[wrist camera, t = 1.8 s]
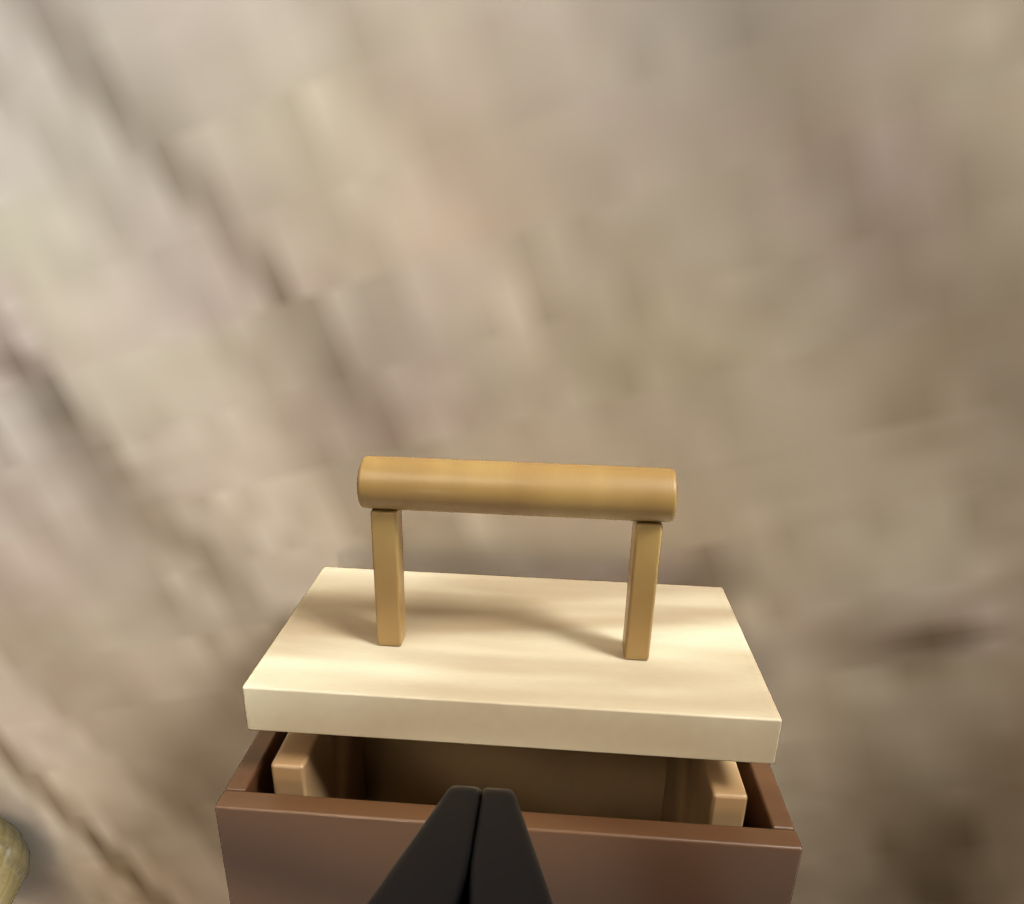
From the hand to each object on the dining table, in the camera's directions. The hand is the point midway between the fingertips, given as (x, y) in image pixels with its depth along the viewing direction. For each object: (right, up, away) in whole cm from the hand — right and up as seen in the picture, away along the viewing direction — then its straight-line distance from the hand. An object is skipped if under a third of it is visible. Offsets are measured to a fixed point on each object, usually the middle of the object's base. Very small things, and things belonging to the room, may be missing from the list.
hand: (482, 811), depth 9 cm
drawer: (+1, -3, +12) cm, 13 cm away
